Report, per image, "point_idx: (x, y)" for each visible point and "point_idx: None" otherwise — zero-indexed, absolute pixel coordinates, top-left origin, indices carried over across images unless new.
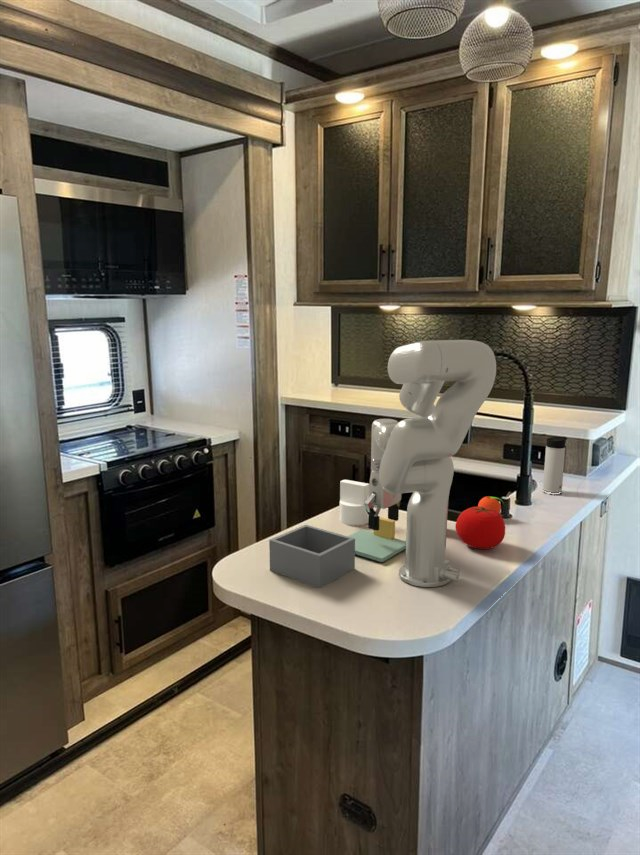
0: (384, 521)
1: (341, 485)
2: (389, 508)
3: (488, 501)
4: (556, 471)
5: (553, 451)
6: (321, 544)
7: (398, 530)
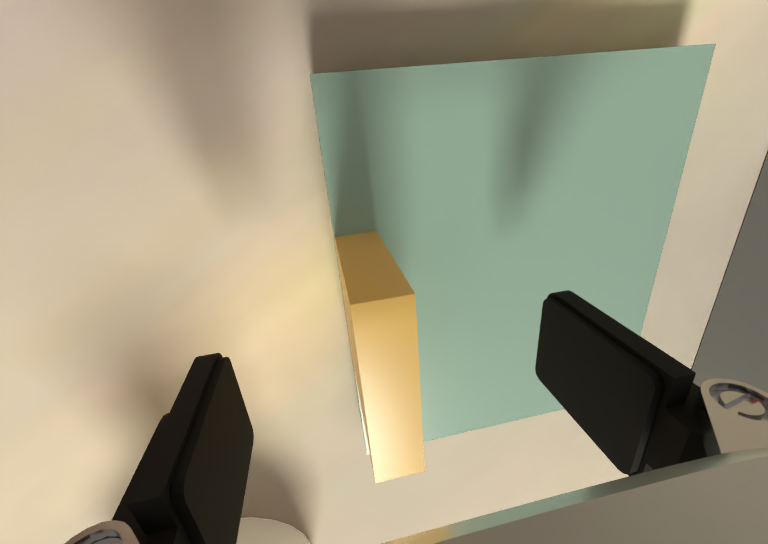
0: (418, 370)
1: None
2: (229, 540)
3: None
4: None
5: None
6: None
7: (113, 364)
